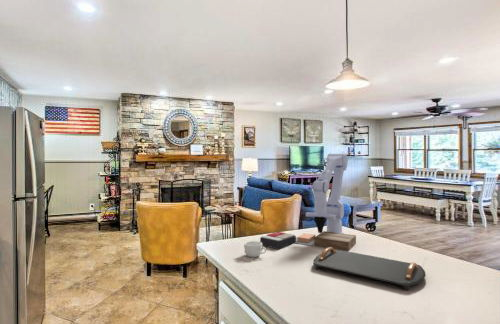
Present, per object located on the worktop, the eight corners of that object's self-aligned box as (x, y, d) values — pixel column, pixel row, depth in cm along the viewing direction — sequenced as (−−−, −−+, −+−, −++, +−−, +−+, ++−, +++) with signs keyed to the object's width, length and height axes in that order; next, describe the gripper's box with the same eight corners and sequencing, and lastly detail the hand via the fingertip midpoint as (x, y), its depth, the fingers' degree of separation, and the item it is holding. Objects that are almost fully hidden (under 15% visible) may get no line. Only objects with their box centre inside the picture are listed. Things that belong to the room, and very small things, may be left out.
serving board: (430, 274, 118) (430, 257, 118) (417, 296, 100) (418, 276, 100) (330, 254, 142) (330, 240, 141) (305, 269, 123) (305, 253, 123)
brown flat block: (323, 239, 165) (323, 231, 165) (355, 243, 157) (355, 235, 157) (314, 245, 153) (314, 237, 153) (348, 250, 145) (348, 242, 145)
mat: (301, 235, 173) (301, 234, 173) (323, 238, 166) (323, 237, 166) (289, 242, 159) (289, 241, 159) (312, 246, 153) (312, 245, 153)
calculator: (296, 234, 159) (279, 239, 147) (296, 243, 159) (278, 249, 147) (277, 230, 166) (259, 235, 154) (277, 239, 166) (259, 244, 154)
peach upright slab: (315, 234, 165) (315, 238, 165) (304, 233, 168) (304, 237, 168) (309, 238, 157) (309, 242, 157) (297, 237, 160) (297, 241, 160)
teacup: (240, 256, 137) (240, 244, 137) (249, 252, 144) (249, 240, 143) (261, 260, 132) (261, 247, 132) (270, 255, 138) (270, 243, 138)
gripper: (303, 204, 159) (303, 232, 159) (332, 207, 151) (332, 236, 152) (308, 202, 165) (308, 229, 165) (336, 205, 157) (336, 233, 158)
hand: (320, 232), depth 159 cm, fingers closed
